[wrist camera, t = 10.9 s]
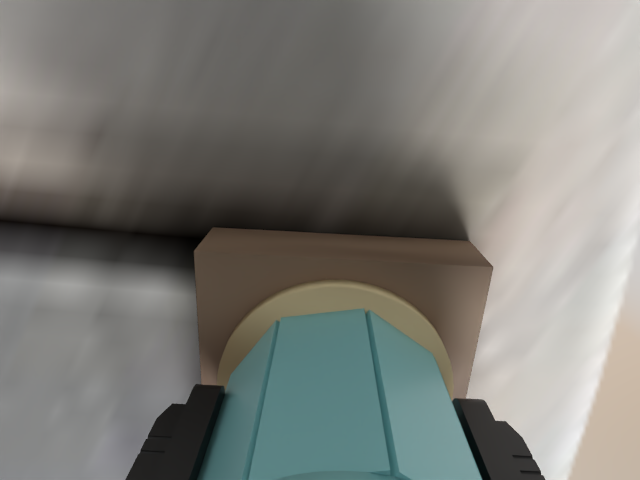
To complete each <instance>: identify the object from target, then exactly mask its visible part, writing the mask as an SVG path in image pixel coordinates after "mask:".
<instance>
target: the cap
mask: <svg viewBox="0 0 640 480" xmlns="http://www.w3.org/2000/svg"><path fill="white" fill-rule="evenodd" d="M197 480H482V478H481V475H480V472H479V470H478V467H477V465H476V462H475V460H474V457H473V454H472V452H471V449H470V447H469V444H468V442H467V439H466V436H465V434H464V431H463V429H462V426H461V424H460V421H459V419H458V416H457V413H456V411H455V408H454V406H453V403H452V401H451V398H450V395H449V393H448V390H447V388H446V385H445V383H444V380H443V377H442V375H441V372H440V370H439V367H438V365H437V362H436V359H435V357H434V356H433V354H432V353H431V352H430V351H428V350H427V349H425V348H424V347H423V346H421V345H420V344H418V343H417V342H415V341H414V340H413V339H411V338H410V337H408V336H407V335H405V334H404V333H403V332H401V331H400V330H398V329H397V328H395V327H394V326H392V325H391V324H390V323H388V322H387V321H385V320H384V319H382V318H381V317H380V316H378V315H377V314H375V313H374V312H372V311H371V310H369V311H368V312H367V313H366V314H365V311H364V308H362V309H353V310H344V311H335V312H326V313H317V314H308V315H299V316H290V317H281V320H280V322H279V321H277V320H276V321H275V322H274V323H273V324H272V326H271V327H270V328H269V329H268V330H267V332H266V333H265V334H264V335H263V336H262V338H261V339H260V340H259V341H258V342H257V344H256V345H255V346H254V347H253V348H252V349H251V351H250V352H249V353H248V354H247V355H246V357H245V358H244V359H243V360H242V361H241V363H240V364H239V365H238V366H237V367H236V369H235V370H234V371H233V372H232V373H231V375H230V378H229V381H228V384H227V387H226V390H225V396H224V399H223V402H222V405H221V408H220V411H219V414H218V417H217V420H216V423H215V426H214V429H213V432H212V435H211V438H210V441H209V444H208V447H207V450H206V454H205V457H204V460H203V463H202V466H201V469H200V472H199V475H198V478H197Z"/></svg>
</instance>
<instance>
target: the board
mask: <svg viewBox="0 0 640 480" xmlns="http://www.w3.org/2000/svg"><path fill="white" fill-rule="evenodd" d="M194 265H195V282H196V299H197V316H198V333H199V350H200V367H201V384H202V385H222V386H224V388H225V390H226V387H227V384H228V381H229V378H230V375H231V373H232V372H233V371H234V370H235V369H236V367H237V366H238V365H239V364H240V363H241V361H242V360H243V359H244V358H245V357H246V355H247V354H248V353H249V352H250V351H251V349H252V348H253V347H254V346H255V345H256V344H257V342H258V341H259V340H260V339H261V338H262V336H263V335H264V334H265V333H266V332H267V330H268V329H269V328H270V327H271V326H272V324H273V323H274V322H275V321H276V320H277V321H279V322H280V320H281V317H290V316H299V315H308V314H317V313H326V312H335V311H344V310H353V309H362V308H364V311H365V314H366V313H367V312H368V311H369V310H371V311H372V312H374V313H375V314H377V315H378V316H380V317H381V318H382V319H384V320H385V321H387V322H388V323H390V324H391V325H392V326H394V327H395V328H397V329H398V330H400V331H401V332H403V333H404V334H405V335H407V336H408V337H410V338H411V339H413V340H414V341H415V342H417V343H418V344H420V345H421V346H423V347H424V348H425V349H427V350H428V351H430V352H431V353H432V354H433V356H434V357H435V359H436V362H437V365H438V367H439V370H440V372H441V375H442V377H443V380H444V383H445V385H446V388H447V390H448V393H449V395H450V398H451V401H453V399H454V398H463V399H466V394H467V390H468V385H469V380H470V375H471V371H472V366H473V361H474V356H475V352H476V347H477V342H478V337H479V333H480V328H481V323H482V319H483V314H484V309H485V304H486V300H487V295H488V290H489V285H490V281H491V276H492V271H493V266H492V265H491V264H490V263H489V262H488V261H487V260H486V258H485V257H484V256H483V255H482V254H481V253H480V252H479V251H478V250H477V248H476V247H475V246H474V245H473V244H472V243H471V242H470V241H462V240H443V239H424V238H405V237H386V236H367V235H348V234H330V233H311V232H292V231H273V230H254V229H235V228H216V227H213V228H212V229H211V230H210V232H209V233H208V234H207V235H206V237H205V238H204V239H203V240H202V242H201V243H200V244H199V245H198V247H197V248H196V249H195V250H194Z"/></svg>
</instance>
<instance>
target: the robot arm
mask: <svg viewBox="0 0 640 480" xmlns="http://www.w3.org/2000/svg"><path fill="white" fill-rule="evenodd" d="M224 396H225V388H224V386H222V385H202V384H196V385H195V386H194V387H193V390H192V392H191V394H190V396H189V399H188V401H187V403H186V404H172V405H171V406H169V407H168V408H167V409H166V410H165V411H164V412H163V413H162V414H161V415H160V416H159V417H158V418H157V419H156V421H155V423H154V425H153V427H152V429H151V431H150V433H149V435H148V439H146V441H145V442H144V444H143V446H142V448H141V452H140V454H138V456H137V458H136V460H135V462H134V464H133V466H132V468H131V470H130V472H129V474H128V476H127V478H126V480H197V478H198V475H199V472H200V469H201V466H202V463H203V460H204V457H205V454H206V450H207V447H208V444H209V441H210V438H211V435H212V432H213V429H214V426H215V423H216V420H217V417H218V414H219V411H220V408H221V405H222V402H223V399H224ZM452 403H453V406H454V408H455V411H456V413H457V416H458V419H459V421H460V424H461V426H462V429H463V431H464V434H465V436H466V439H467V442H468V444H469V447H470V449H471V452H472V454H473V457H474V460H475V462H476V465H477V467H478V470H479V472H480V475H481V478H482V480H545V478H544V476H543V475H541V471H540V469H539V467H538V465H537V463H536V462H535V460H533V458H532V454H531V453H530V451H529V449H528V447H527V445H526V443H525V442H524V440H523V438H522V437H521V436H520V435H519V434H518V433H517V432H516V431H515V430H514V429H513V428H512V427H511V426H510V425H509V424H508V423H507V422H506V421H495V419H494V417H493V415H492V413H491V411H490V409H489V407H488V405H487V403H486V402H485V401H484V400H482V399H463V398H454V399H453V401H452Z"/></svg>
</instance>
